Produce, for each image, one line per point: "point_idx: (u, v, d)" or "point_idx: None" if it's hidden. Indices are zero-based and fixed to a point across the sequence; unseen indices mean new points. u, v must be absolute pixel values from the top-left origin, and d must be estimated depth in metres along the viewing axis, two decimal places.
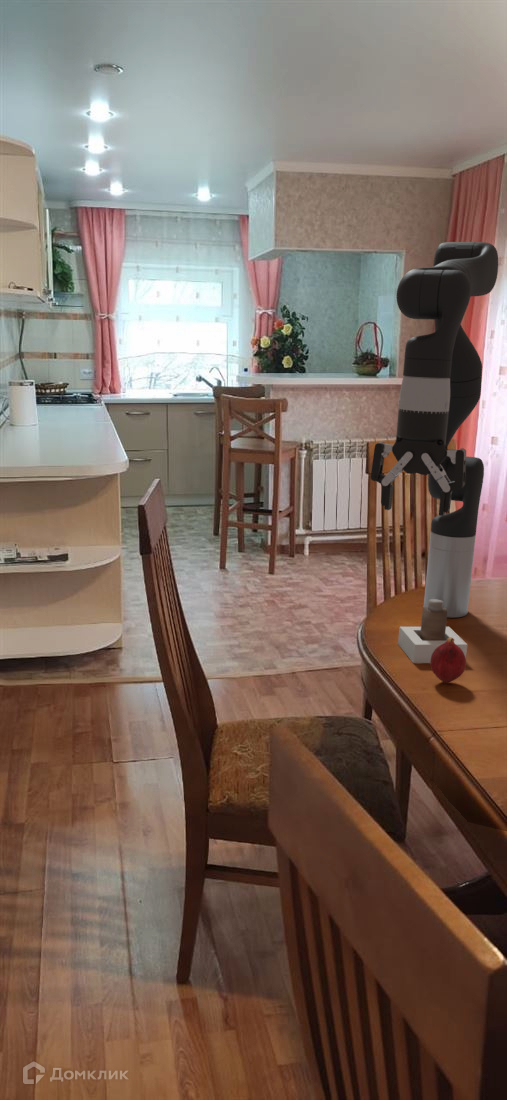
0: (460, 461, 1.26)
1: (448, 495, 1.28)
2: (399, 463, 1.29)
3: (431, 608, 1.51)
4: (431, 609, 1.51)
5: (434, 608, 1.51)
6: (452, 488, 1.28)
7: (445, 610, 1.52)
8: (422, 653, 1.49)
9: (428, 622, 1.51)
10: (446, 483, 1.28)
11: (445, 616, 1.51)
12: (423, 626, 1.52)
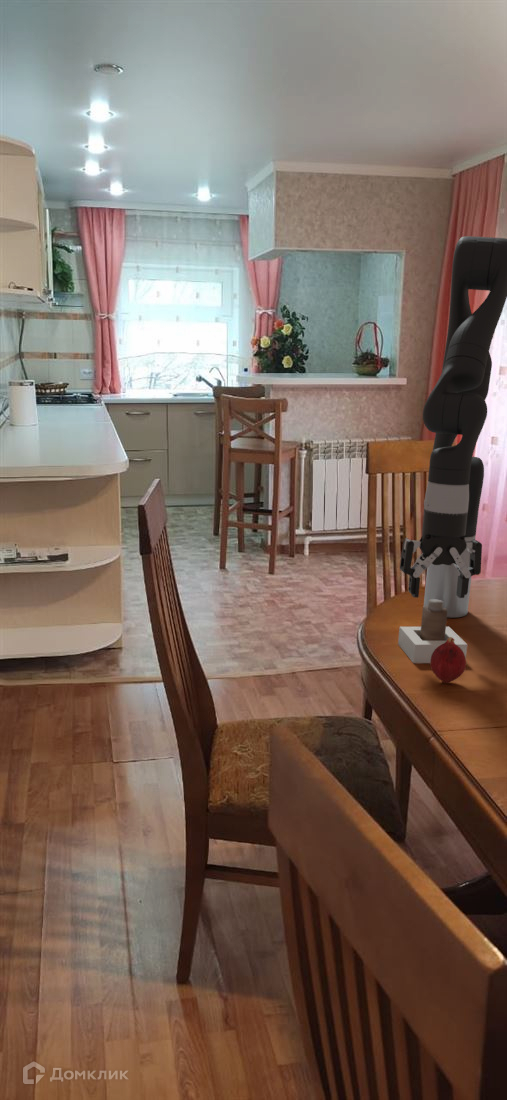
0: None
1: None
2: None
3: (431, 608, 1.51)
4: (431, 609, 1.51)
5: (434, 608, 1.51)
6: None
7: (445, 610, 1.52)
8: (422, 653, 1.49)
9: (428, 622, 1.51)
10: None
11: (445, 616, 1.51)
12: (423, 626, 1.52)
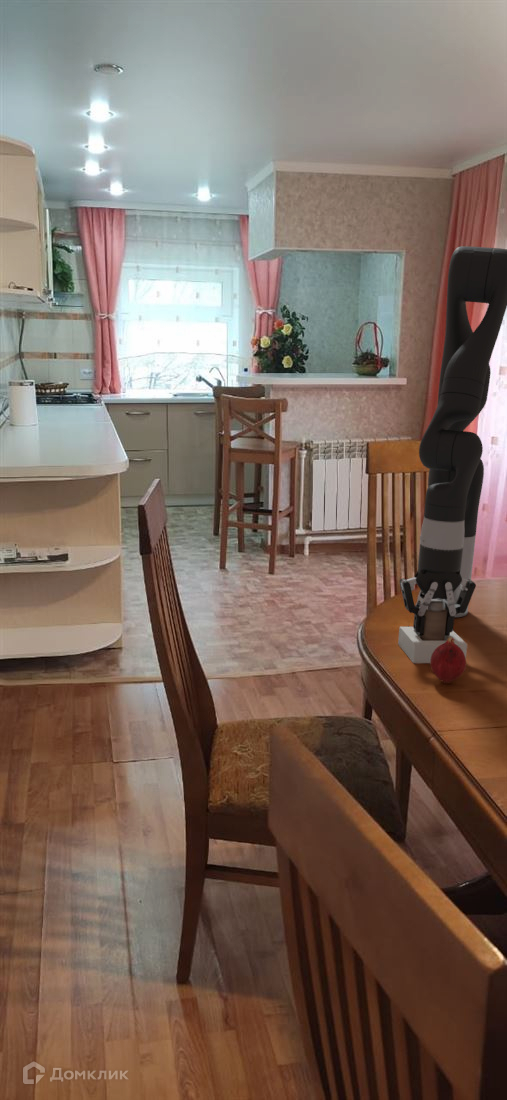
0: None
1: (415, 615, 1.53)
2: None
3: (431, 608, 1.51)
4: (431, 609, 1.51)
5: (434, 608, 1.51)
6: None
7: (445, 610, 1.52)
8: (422, 653, 1.49)
9: (428, 622, 1.51)
10: (416, 605, 1.53)
11: (445, 616, 1.51)
12: None
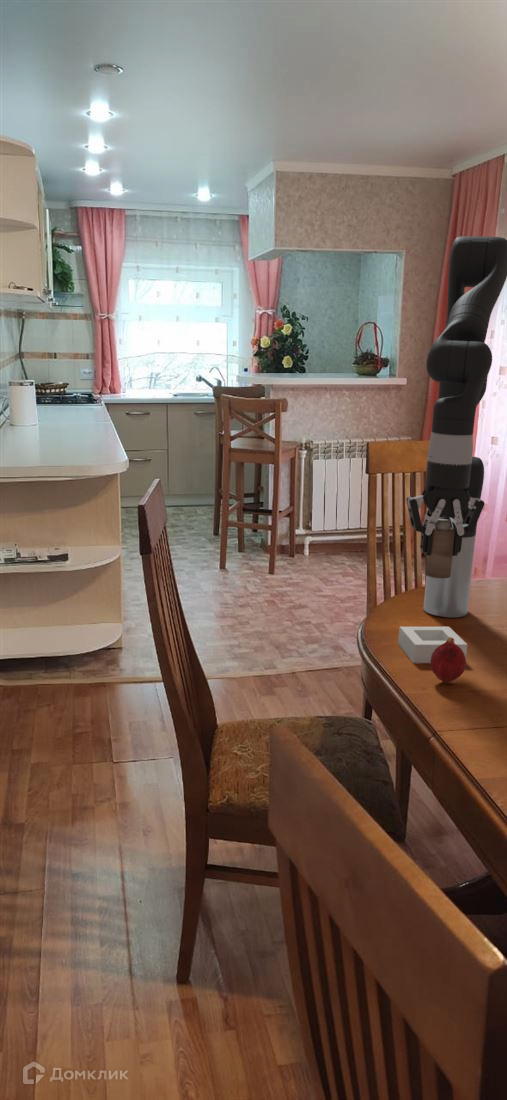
0: None
1: None
2: None
3: (438, 527, 1.48)
4: (439, 528, 1.48)
5: (441, 527, 1.47)
6: None
7: (453, 529, 1.48)
8: (422, 653, 1.49)
9: (435, 542, 1.48)
10: (423, 525, 1.49)
11: (453, 535, 1.48)
12: None
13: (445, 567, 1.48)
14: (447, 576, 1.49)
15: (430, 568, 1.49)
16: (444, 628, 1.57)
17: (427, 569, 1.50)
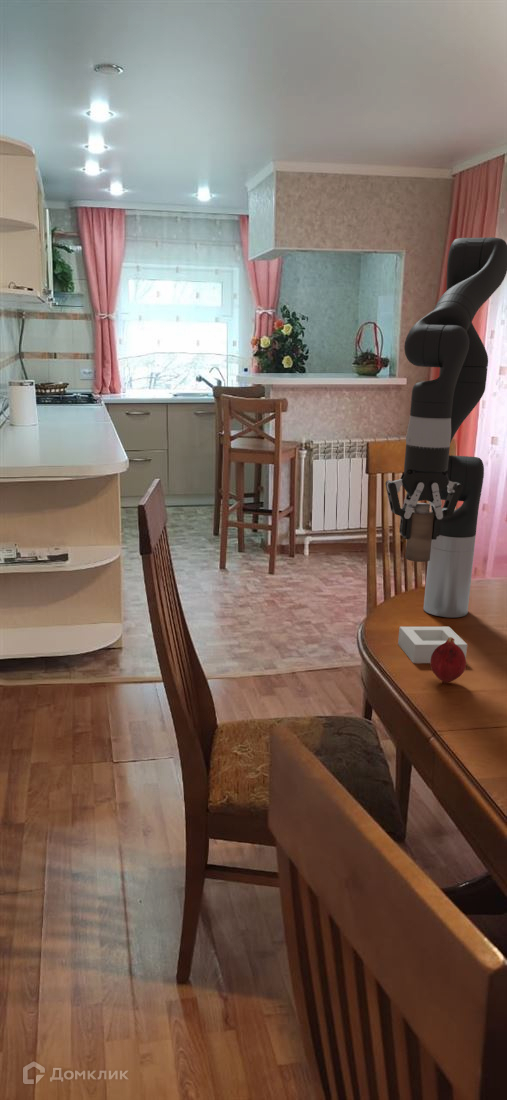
0: None
1: None
2: None
3: (417, 511, 1.49)
4: (418, 512, 1.48)
5: (420, 510, 1.48)
6: None
7: (432, 513, 1.49)
8: (422, 653, 1.49)
9: (414, 525, 1.48)
10: (402, 508, 1.50)
11: (432, 519, 1.48)
12: None
13: (424, 550, 1.49)
14: (426, 559, 1.50)
15: (410, 552, 1.50)
16: (444, 628, 1.57)
17: (406, 553, 1.51)
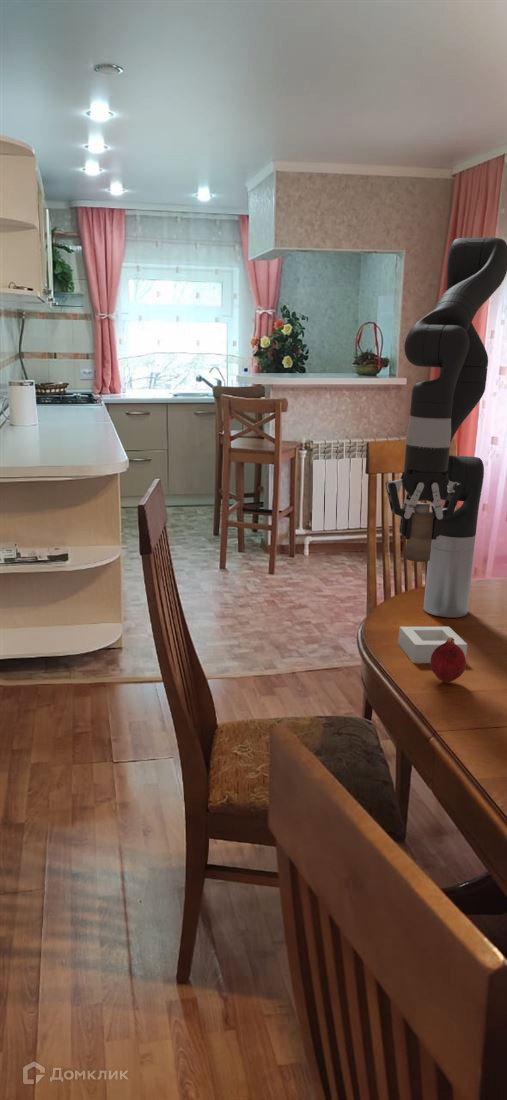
0: None
1: None
2: None
3: (417, 511, 1.49)
4: (418, 512, 1.48)
5: (420, 510, 1.48)
6: None
7: (432, 513, 1.49)
8: (422, 653, 1.49)
9: (414, 525, 1.48)
10: (402, 508, 1.50)
11: (432, 519, 1.48)
12: None
13: (424, 550, 1.49)
14: (426, 559, 1.50)
15: (410, 552, 1.50)
16: (444, 628, 1.57)
17: (406, 553, 1.51)
